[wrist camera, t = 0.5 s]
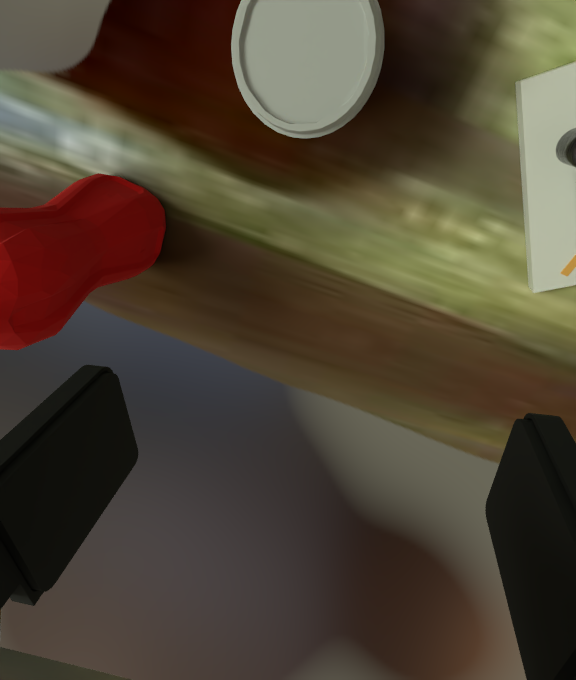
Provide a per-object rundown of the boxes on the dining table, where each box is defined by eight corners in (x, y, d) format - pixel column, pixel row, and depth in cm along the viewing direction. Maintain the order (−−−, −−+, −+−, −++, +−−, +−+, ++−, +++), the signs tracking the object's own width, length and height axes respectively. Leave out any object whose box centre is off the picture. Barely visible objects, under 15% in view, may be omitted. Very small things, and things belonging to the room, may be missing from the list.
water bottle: (78, 153, 42) (-226, 206, 21) (176, 198, 43) (-26, 295, 21) (71, 234, 47) (-181, 343, 26) (159, 274, 47) (-19, 413, 26)
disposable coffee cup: (272, 129, 38) (231, 139, 27) (268, -5, 33) (217, -52, 23) (377, 129, 36) (376, 140, 26) (389, -12, 31) (394, -67, 21)
